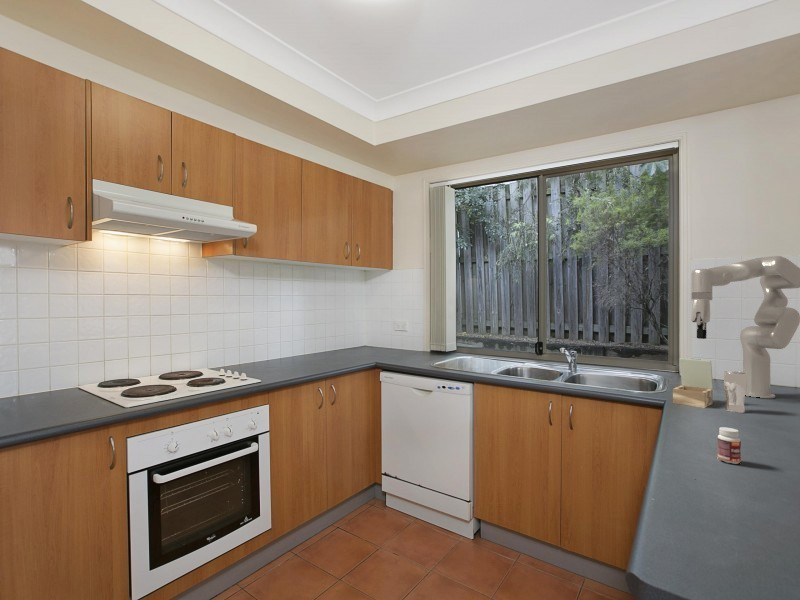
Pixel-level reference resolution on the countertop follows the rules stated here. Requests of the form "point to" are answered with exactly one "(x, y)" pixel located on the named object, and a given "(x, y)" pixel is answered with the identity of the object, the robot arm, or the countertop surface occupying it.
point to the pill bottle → (729, 445)
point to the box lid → (696, 373)
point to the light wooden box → (693, 396)
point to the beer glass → (735, 391)
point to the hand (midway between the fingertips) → (701, 338)
